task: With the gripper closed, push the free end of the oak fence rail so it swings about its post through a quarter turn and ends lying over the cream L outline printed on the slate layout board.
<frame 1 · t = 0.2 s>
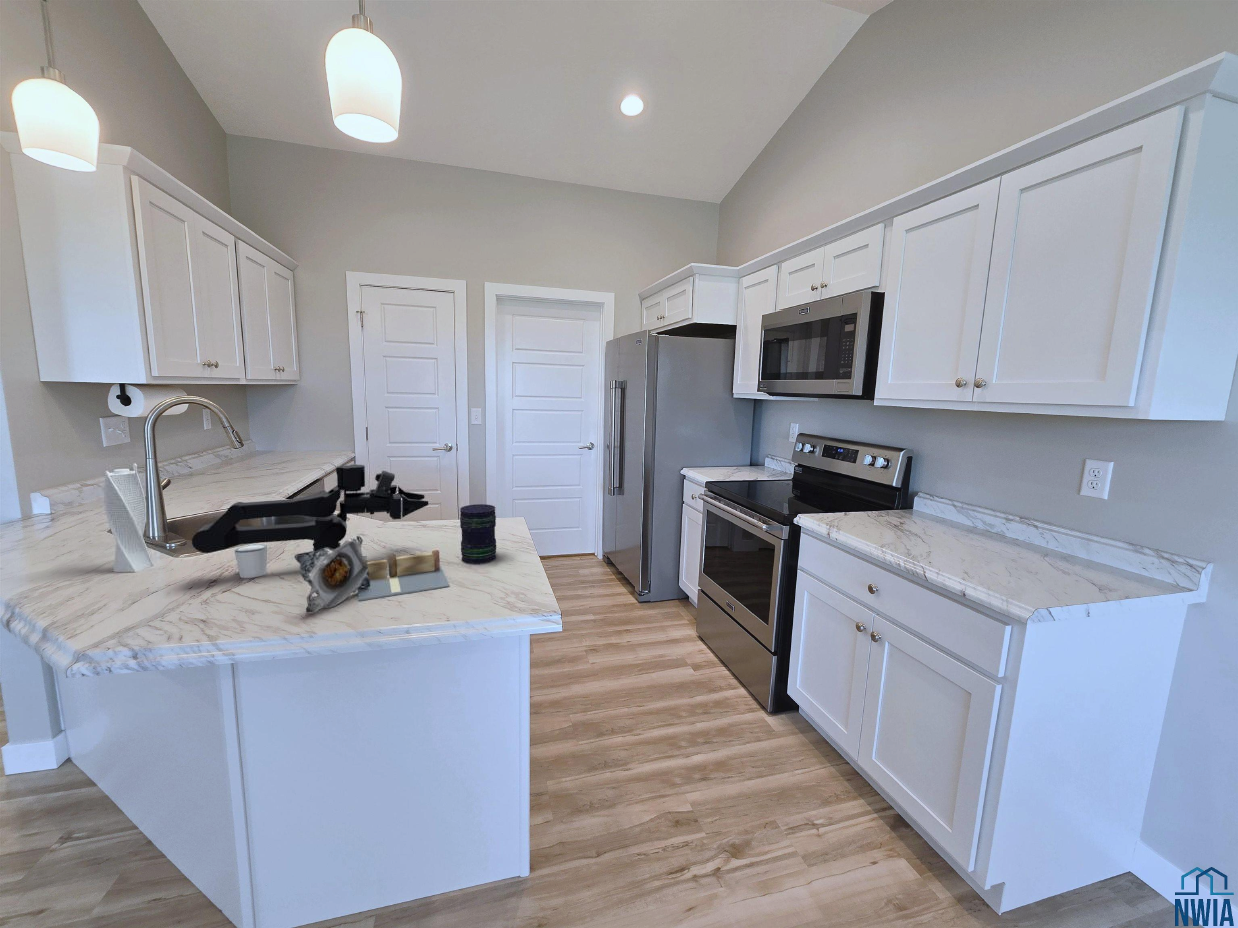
hand: (426, 499, 144), 17 cm above the countertop, tool horizontal, fingers open, 9 cm apart
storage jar: (479, 559, 145), on the countertop
white cylinder: (253, 574, 130), on the countertop
layout board: (402, 580, 127), on the countertop
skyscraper: (135, 569, 132), on the countertop
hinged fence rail: (414, 562, 131), point 3 cm above the countertop, hinge at 0.0°
fixed fence rail: (360, 581, 125), resting on layout board
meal: (337, 600, 115), on the countertop, touching layout board
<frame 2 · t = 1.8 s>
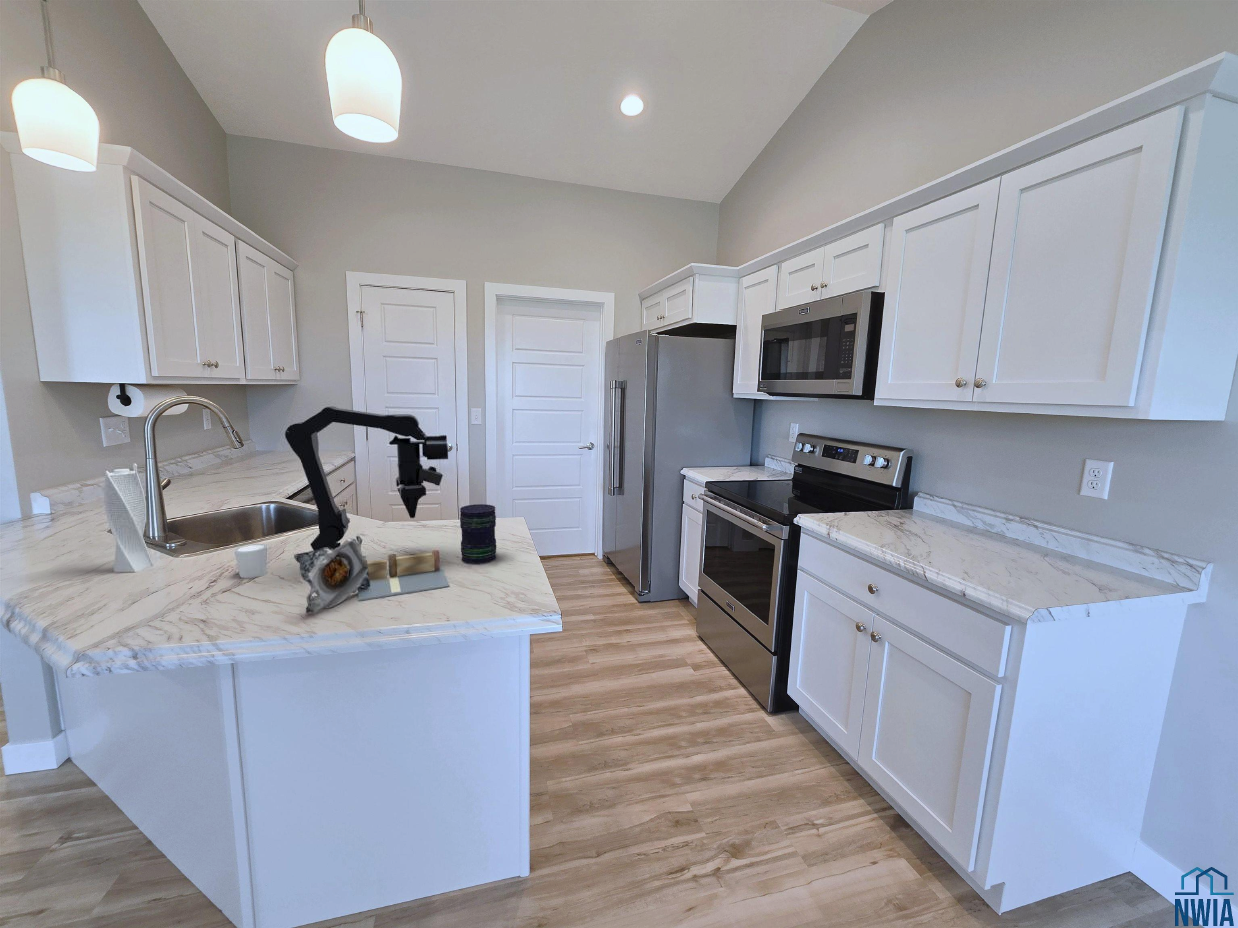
hand: (411, 515, 140), 13 cm above the countertop, tool pointing down, fingers open, 5 cm apart
nothing on the countertop moved.
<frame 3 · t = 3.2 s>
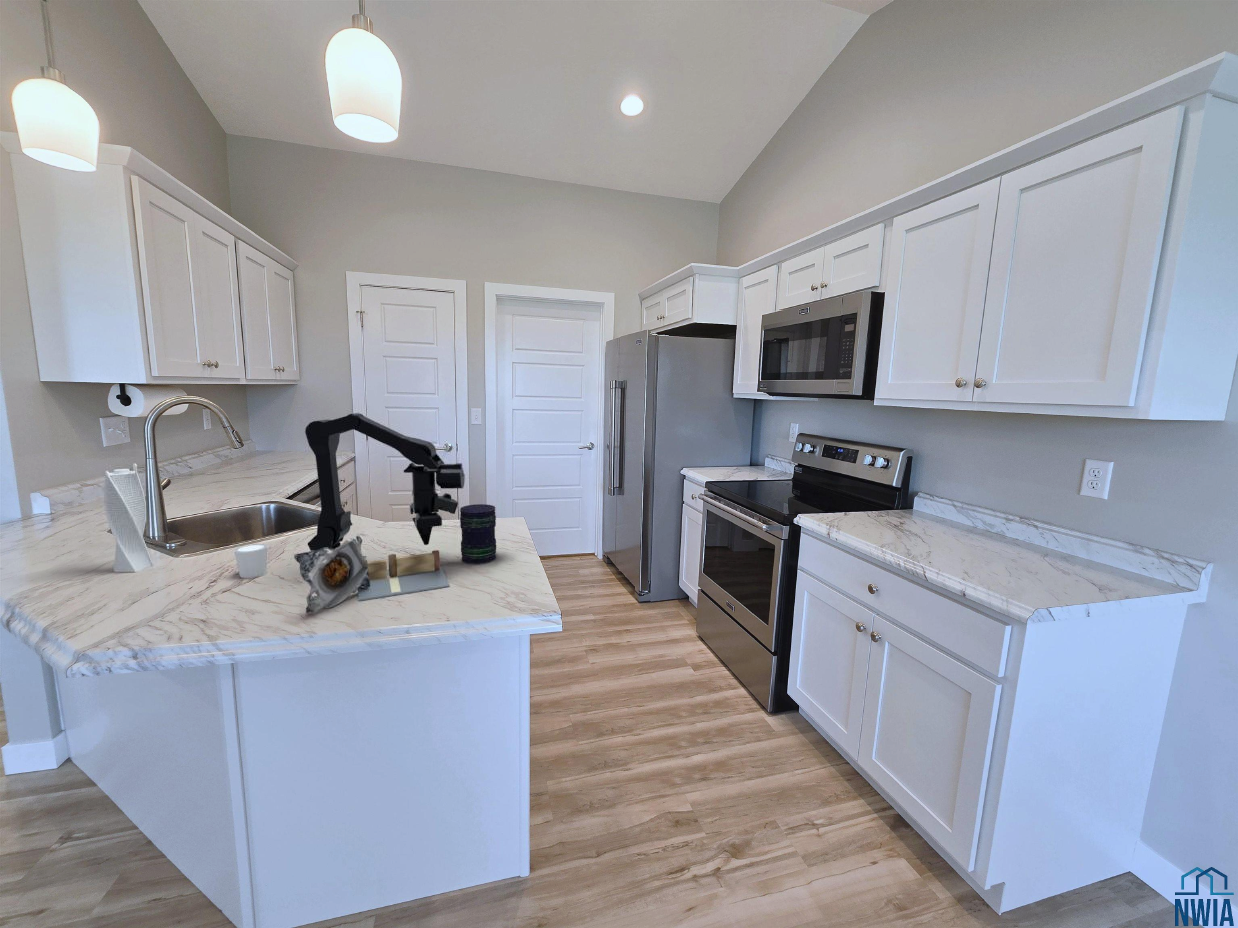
hand: (426, 544, 137), 6 cm above the countertop, tool pointing down, fingers closed
nothing on the countertop moved.
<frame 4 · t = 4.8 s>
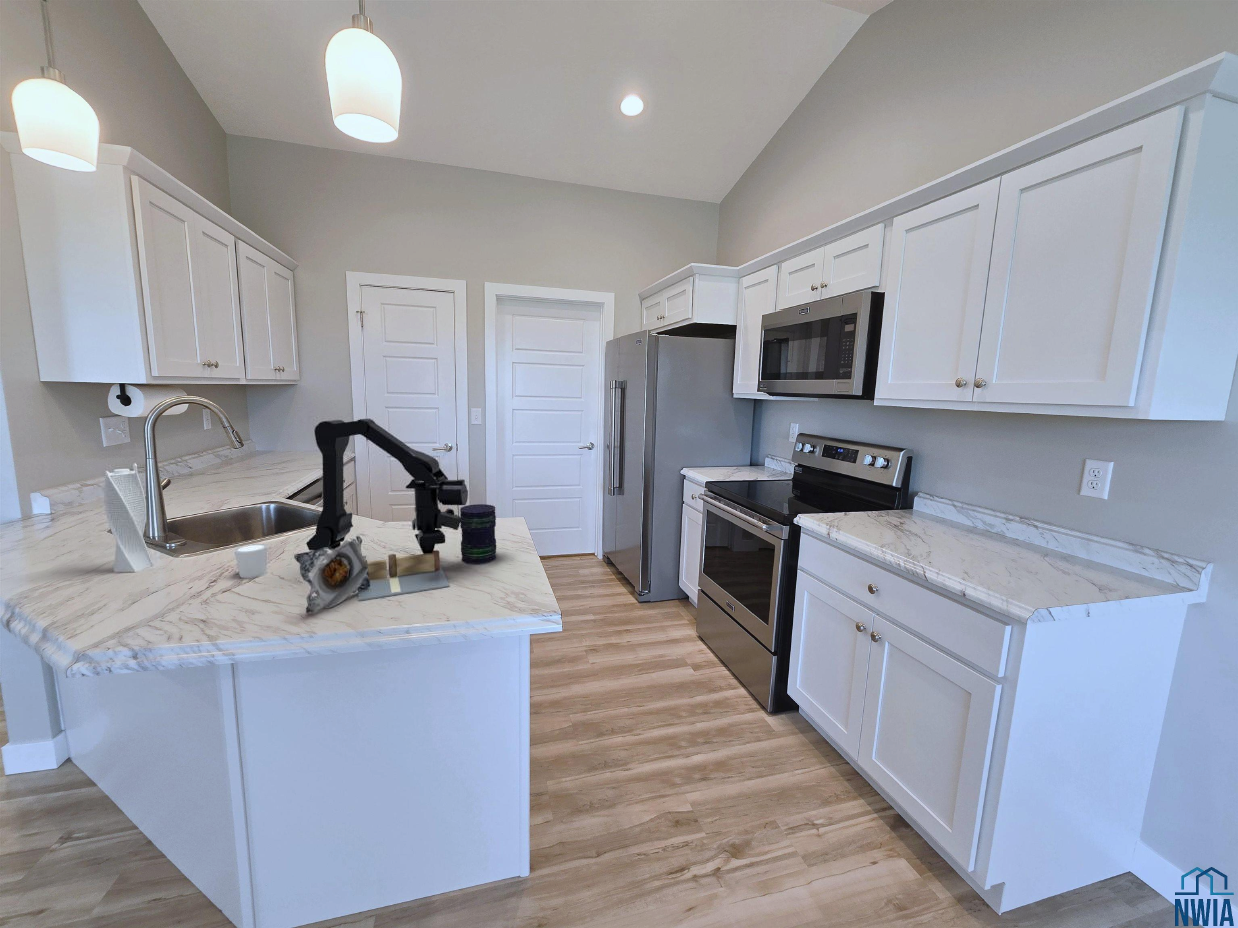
hand: (429, 561, 135), 2 cm above the countertop, tool pointing down, fingers closed
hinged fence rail: (414, 562, 131), point 3 cm above the countertop, hinge at -0.7°, touching gripper
everything else where it was.
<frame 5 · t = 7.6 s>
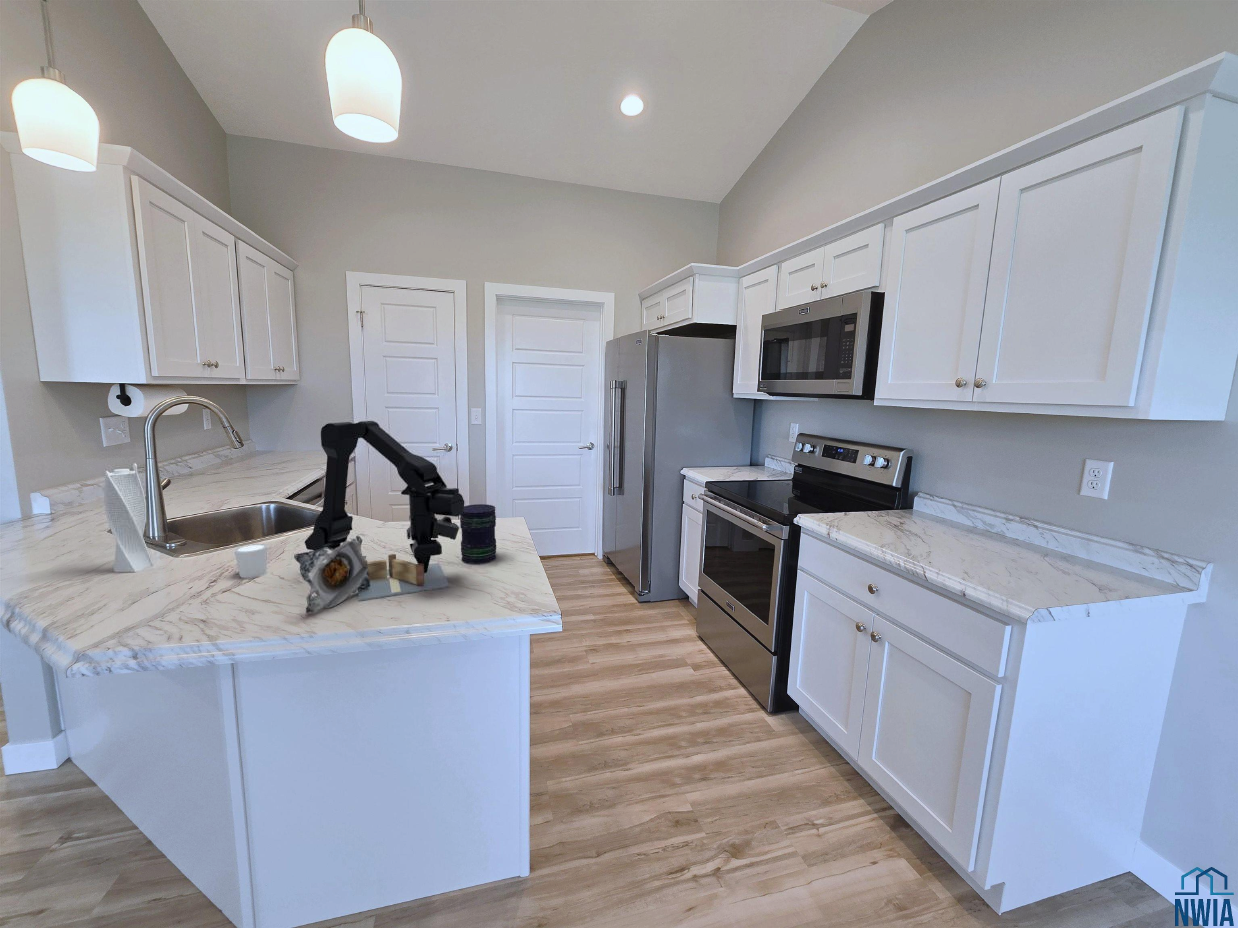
hand: (424, 572, 127), 2 cm above the countertop, tool pointing down, fingers closed
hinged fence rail: (406, 569, 126), point 3 cm above the countertop, hinge at -57.7°, touching gripper
everything else where it was.
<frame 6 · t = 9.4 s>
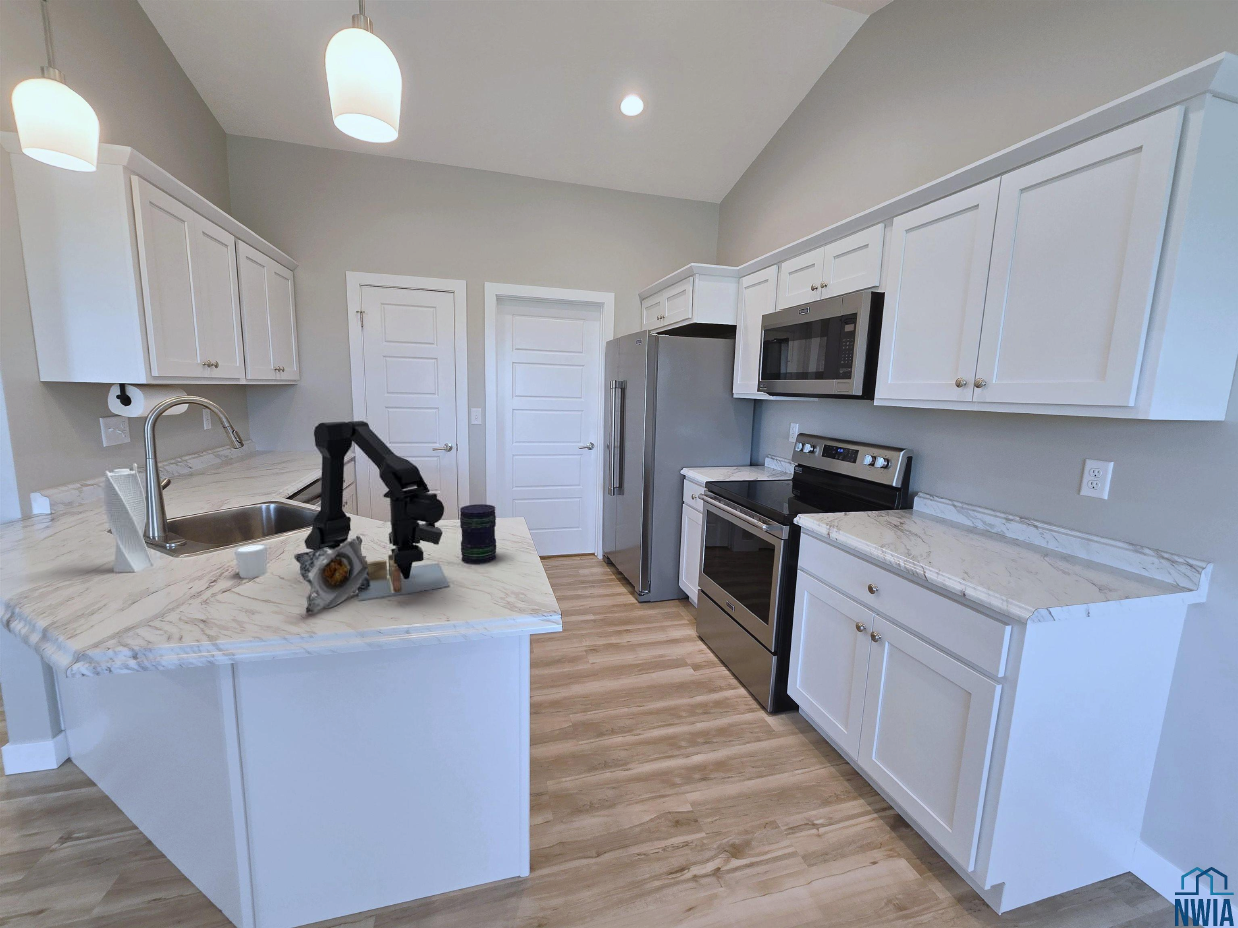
hand: (406, 578, 123), 2 cm above the countertop, tool pointing down, fingers closed, pressing on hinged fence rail
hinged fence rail: (394, 571, 124), point 3 cm above the countertop, hinge at -88.4°, touching gripper
everything else where it was.
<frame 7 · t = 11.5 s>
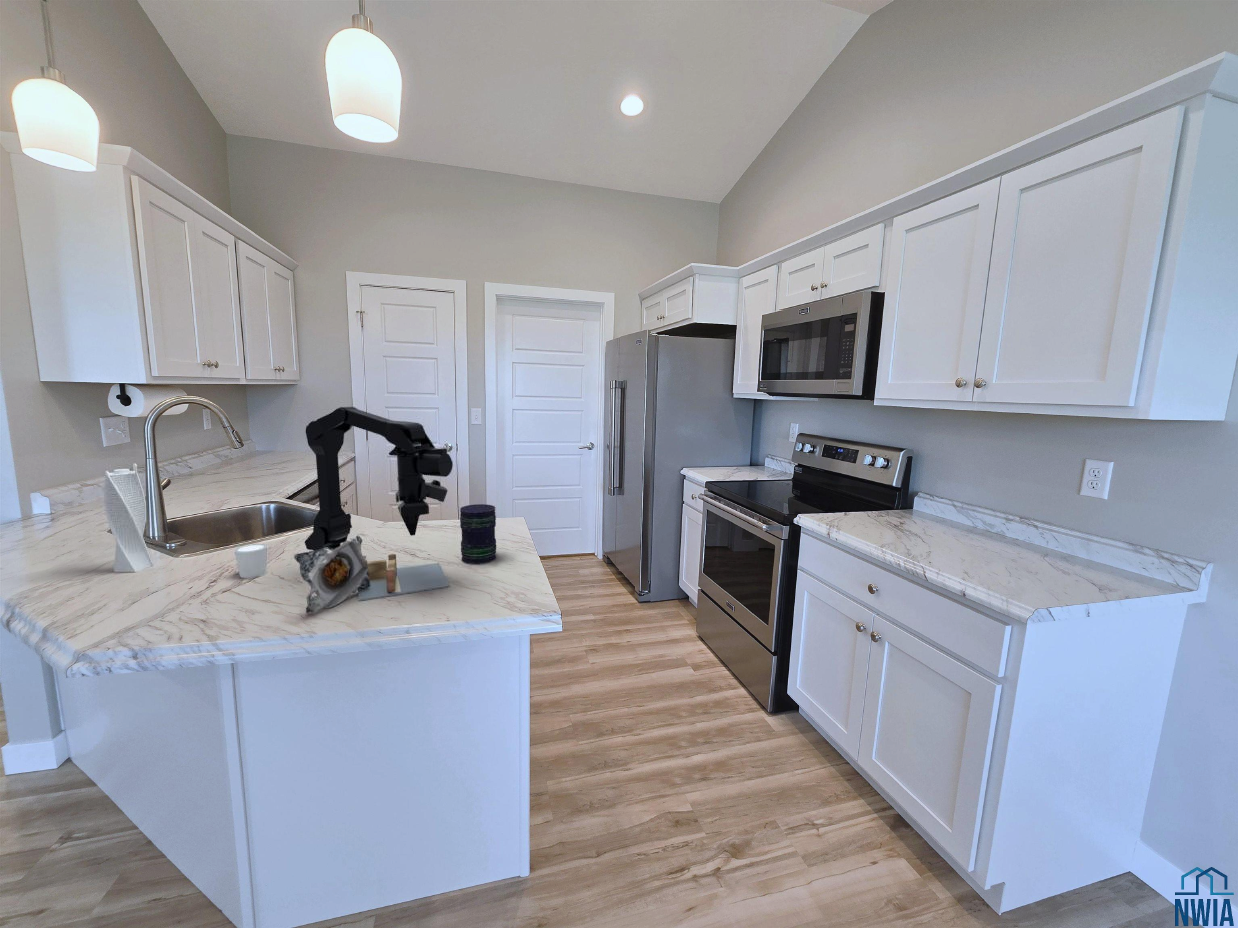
hand: (412, 535, 126), 12 cm above the countertop, tool pointing down, fingers closed
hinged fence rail: (391, 572, 123), point 3 cm above the countertop, hinge at -95.9°
everything else where it was.
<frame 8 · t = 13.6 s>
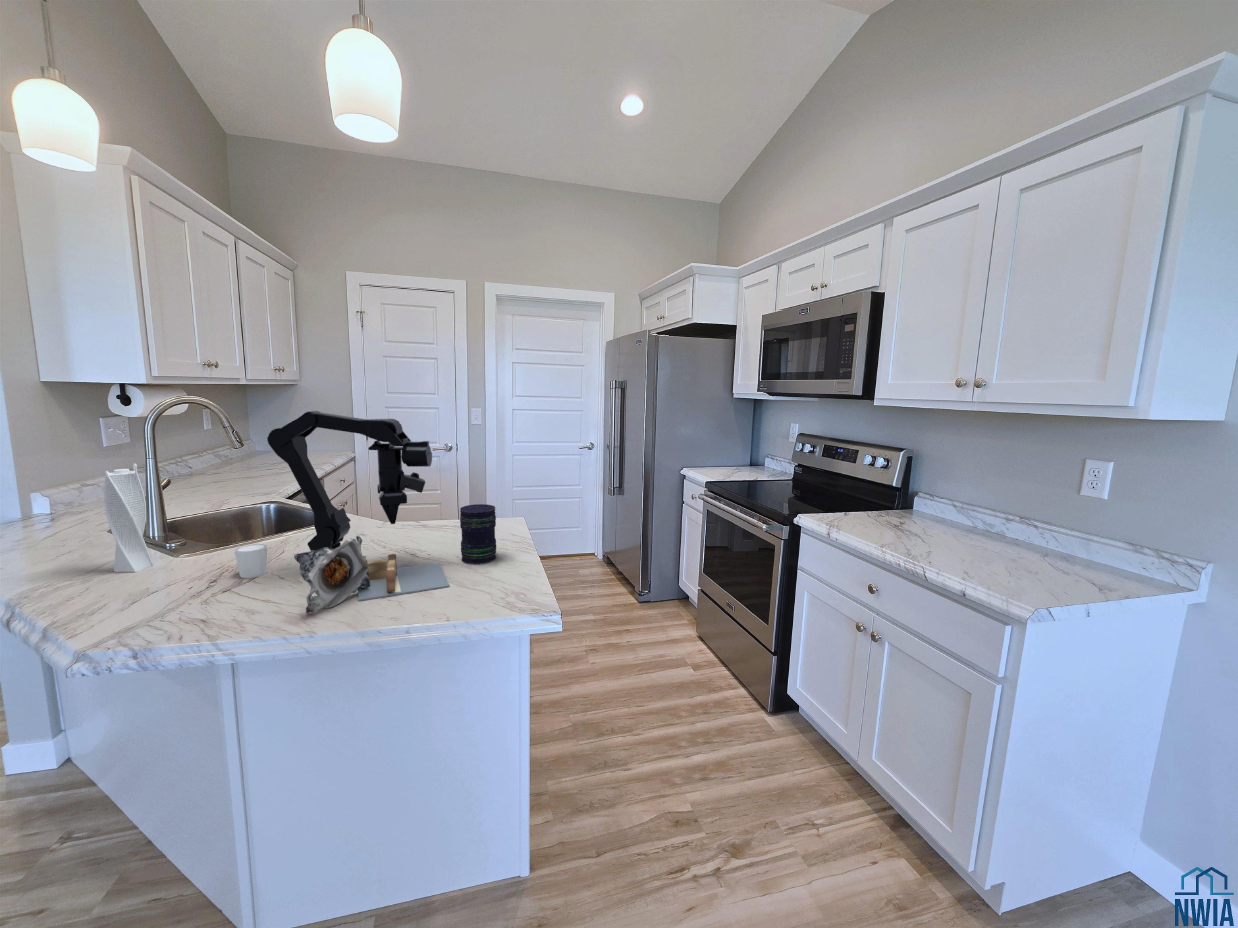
hand: (393, 523, 135), 12 cm above the countertop, tool pointing down, fingers closed
nothing on the countertop moved.
at the end: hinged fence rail at -96° (first picture: +0°) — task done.
